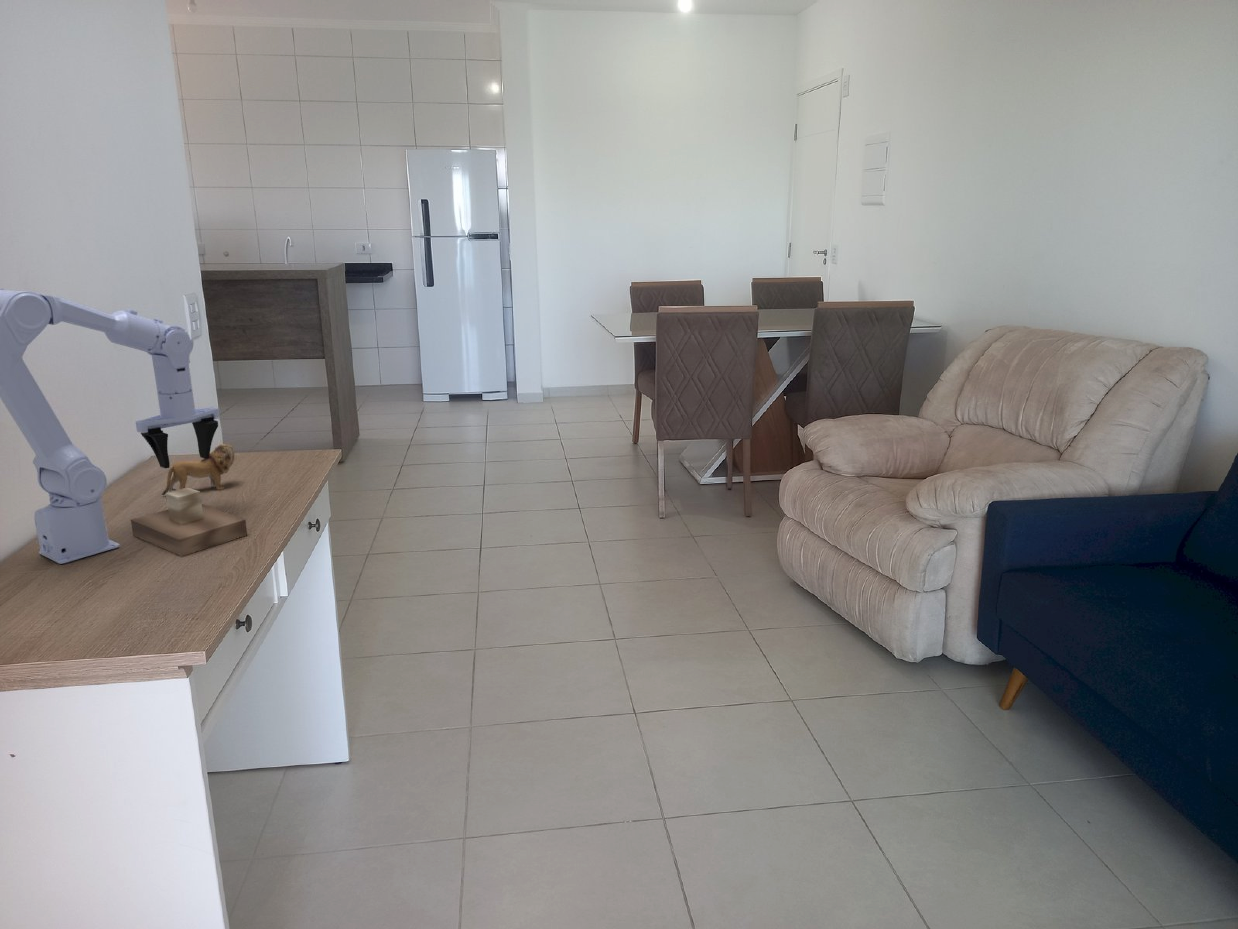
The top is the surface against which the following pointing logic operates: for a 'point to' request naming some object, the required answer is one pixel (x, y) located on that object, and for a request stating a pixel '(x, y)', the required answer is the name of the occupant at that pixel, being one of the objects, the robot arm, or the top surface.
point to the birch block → (184, 505)
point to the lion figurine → (202, 468)
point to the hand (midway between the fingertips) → (185, 462)
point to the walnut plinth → (189, 530)
